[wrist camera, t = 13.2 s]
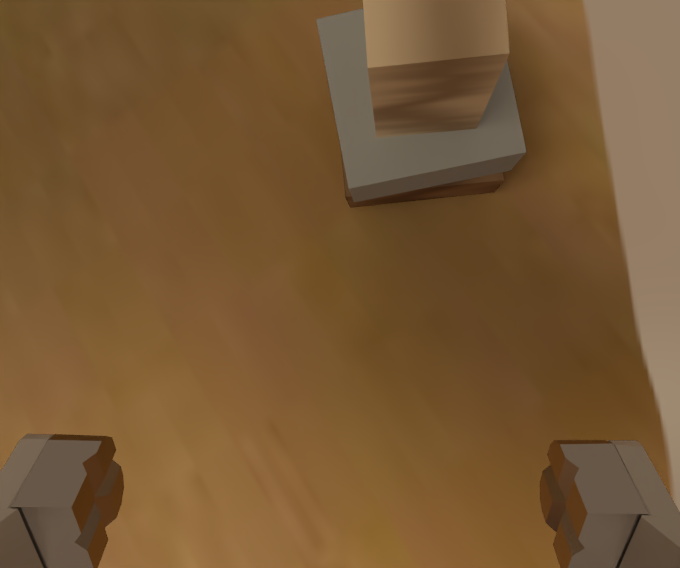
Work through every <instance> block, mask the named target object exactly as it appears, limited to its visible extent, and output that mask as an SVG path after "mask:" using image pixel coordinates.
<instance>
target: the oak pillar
mask: <svg viewBox="0 0 680 568" xmlns="http://www.w3.org/2000/svg"><path fill="white" fill-rule="evenodd" d="M363 9H364V23H365V38H366V52H367V67H368V75H369V83H370V91H371V99H372V106H373V114H374V122H375V130H376V138H381V137H392V136H403V135H414V134H425V133H436V132H446V131H457V130H468V129H476V128H477V126H478V124H479V122H480V119H481V117H482V115H483V113H484V110H485V108H486V106H487V104H488V101H489V99H490V97H491V95H492V92H493V90H494V88H495V86H496V83H497V81H498V79H499V77H500V74H501V72H502V70H503V68H504V65H505V63H506V61H507V59H508V56H509V54H510V49H509V37H508V24H507V12H506V0H363Z"/></svg>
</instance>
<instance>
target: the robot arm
mask: <svg viewBox="0 0 680 568" xmlns="http://www.w3.org/2000/svg"><path fill="white" fill-rule="evenodd" d="M115 452H116V448H115V445H114V442H113V439H112V437H109V436H90V435H63V434H54V435H52V434H27V435H25V436H24V437H23V438H22V439H20V440H19V442H18V444H17V445H16V447H15V448H14V450H13V452H12V453H11V455H10V457H9V458H8V460H7V461H6V463H5V465H4V466H3V468H2V470H1V471H0V568H98V565H99V563H100V560H101V558H102V555H103V552H104V550H105V547H106V544H107V542H108V537H107V534H106V531H105V527H106V526H107V525H109V524H110V523H111V522H112V521H113V520H114V519H116V518H117V515H118V512H119V509H120V506H121V503H122V496H123V490H124V480H123V473H122V469H121V466H120V465H118V464H117V463H116V462H115V461H113V460H112V459H113V457H114V454H115ZM547 455H548V458H549V461H550V464H551V465H550V466H549V467H547V468H546V469H545V470H543V472H542V476H541V480H540V502H541V508H542V512H543V515H544V518H545V522H546V523H547V524H548V525H549V526H550V527H551V528H552V529H553V530H555V531H556V532H557V533H556V536H555V539H554V543H553V546H554V549H555V552H556V556H557V559H558V562H559V565H560V568H680V512H679V510H678V508H677V507H676V505H675V503H674V501H673V500H672V498H671V496H670V494H669V492H668V491H667V489H666V487H665V485H664V483H663V482H662V480H661V478H660V476H659V474H658V473H657V471H656V469H655V467H654V465H653V464H652V462H651V460H650V458H649V457H648V455H647V453H646V451H645V449H644V448H643V446H642V444H640V443H639V442H638V441H625V440H609V441H606V440H554V441H553V442H552V443H551V444H550V447H549V450H548V454H547Z"/></svg>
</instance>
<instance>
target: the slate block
mask: <svg viewBox="0 0 680 568" xmlns="http://www.w3.org/2000/svg"><path fill="white" fill-rule="evenodd" d="M316 21H317V26H318V31H319V36H320V41H321V47H322V52H323V57H324V62H325V68H326V73H327V78H328V83H329V88H330V94H331V99H332V104H333V109H334V115H335V120H336V125H337V130H338V135H339V141H340V146H341V151H342V156H343V162H344V167H345V172H346V177H347V182H348V188H349V191H350V193H351V196H352V199H353V201H354V202H359V201H364V200H369V199H373V198H378V197H383V196H388V195H393V194H398V193H403V192H408V191H413V190H417V189H422V188H427V187H432V186H437V185H442V184H447V183H452V182H457V181H462V180H466V179H471V178H476V177H481V176H486V175H491V174H496V173H501V172H506V171H510V170H512V169H513V167H514V166H515V165H516V164H517V163H518V162H519V160H520V159H521V158H522V157H523V156H524V154H525V153H526V147H525V142H524V137H523V133H522V128H521V123H520V118H519V113H518V109H517V104H516V99H515V94H514V89H513V85H512V80H511V75H510V70H509V66H508V61H506V63H505V65H504V68H503V70H502V72H501V74H500V77H499V79H498V81H497V83H496V86H495V88H494V90H493V92H492V95H491V97H490V99H489V101H488V104H487V106H486V108H485V110H484V113H483V115H482V117H481V119H480V122H479V124H478V126H477V128H476V129H468V130H457V131H446V132H436V133H425V134H414V135H403V136H392V137H381V138H376V130H375V122H374V114H373V106H372V99H371V91H370V83H369V75H368V67H367V52H366V38H365V23H364V9H358V10H354V11H350V12H345V13H341V14H337V15H332V16H328V17H324V18H319V19H316Z"/></svg>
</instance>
